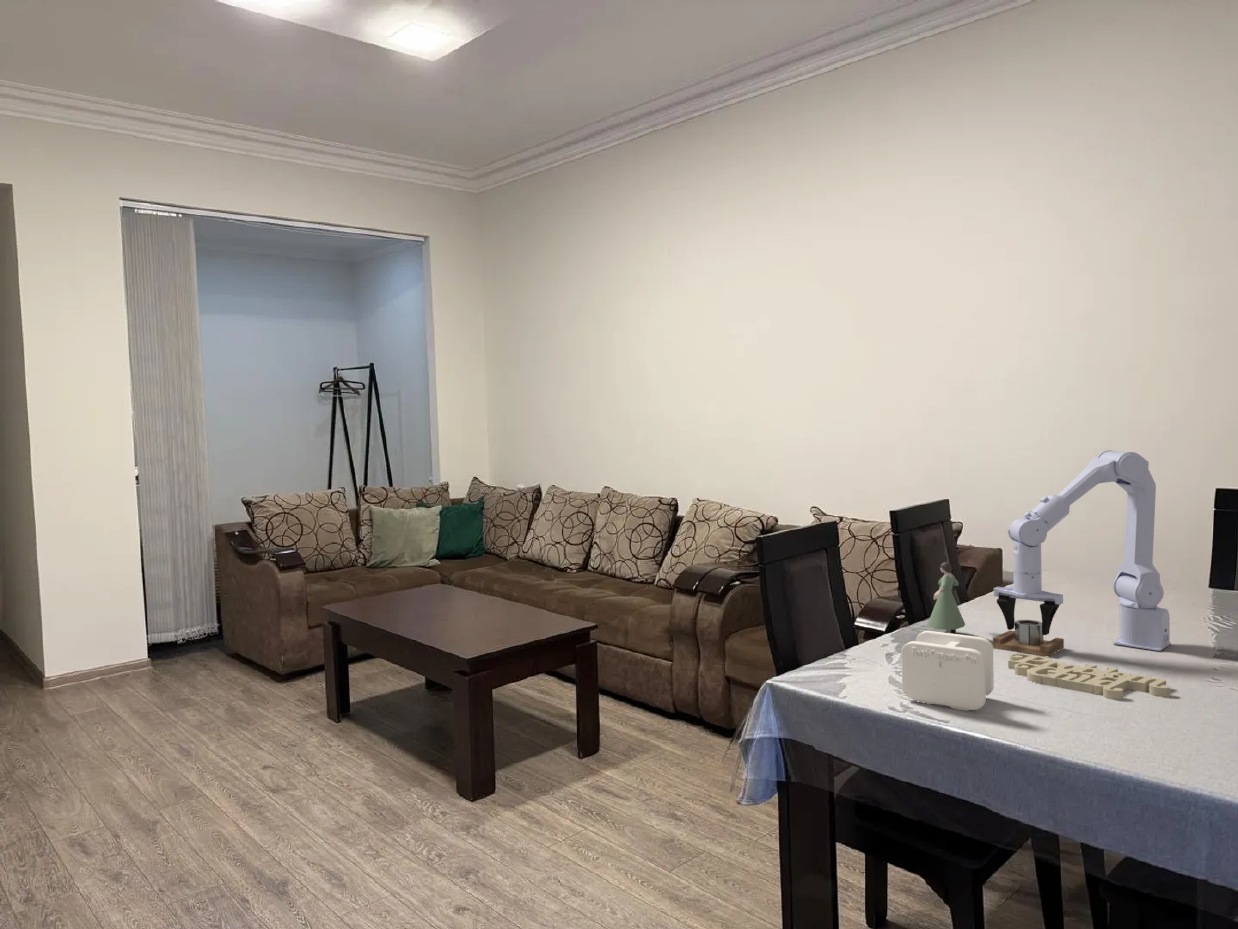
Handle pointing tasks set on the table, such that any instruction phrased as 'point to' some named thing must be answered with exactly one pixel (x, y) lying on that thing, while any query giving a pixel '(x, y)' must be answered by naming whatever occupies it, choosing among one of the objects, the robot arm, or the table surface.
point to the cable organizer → (948, 670)
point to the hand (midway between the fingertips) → (1028, 631)
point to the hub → (1028, 632)
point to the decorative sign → (1085, 677)
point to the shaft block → (1045, 649)
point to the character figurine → (946, 603)
